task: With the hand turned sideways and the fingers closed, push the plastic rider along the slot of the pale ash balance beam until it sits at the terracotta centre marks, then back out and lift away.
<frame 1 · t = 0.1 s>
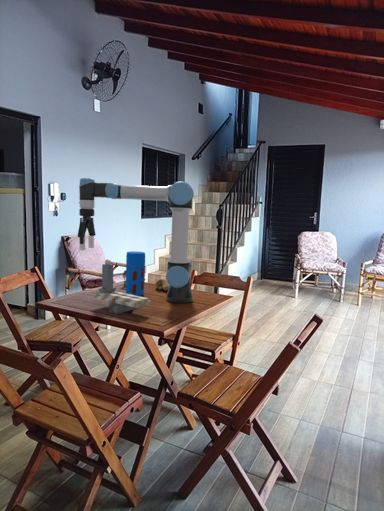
hand: (86, 249, 195), 28 cm above the table, tool pointing down, fingers open, 13 cm apart
thermos: (134, 294, 217), on the table
ginger root: (164, 289, 236), on the table
rider: (107, 276, 185), point 16 cm above the table, slide at -10.0 cm
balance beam: (121, 310, 181), on the table
watch: (128, 286, 240), on the table
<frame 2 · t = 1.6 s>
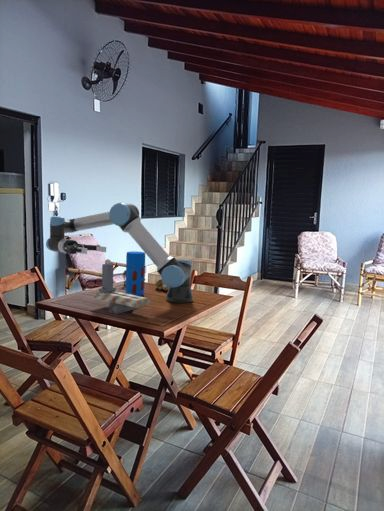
hand: (96, 250, 188), 28 cm above the table, tool horizontal, fingers open, 12 cm apart
nothing on the table moved.
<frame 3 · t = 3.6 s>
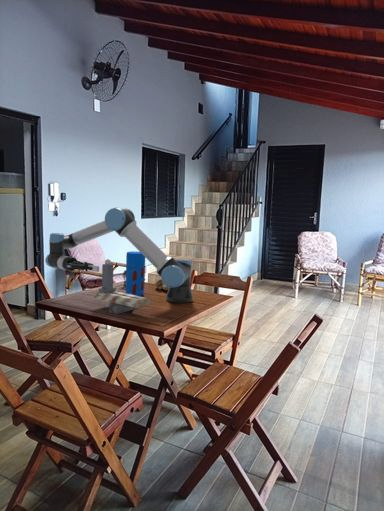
hand: (98, 269, 188), 19 cm above the table, tool horizontal, fingers closed
nothing on the table moved.
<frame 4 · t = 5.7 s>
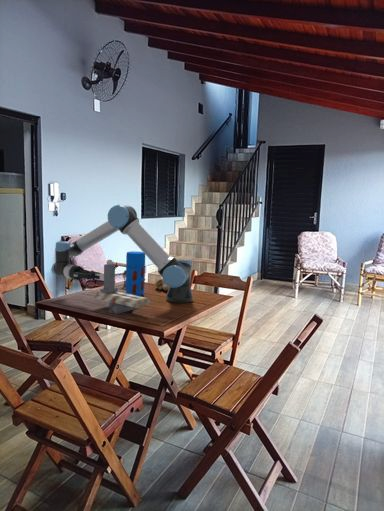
hand: (105, 278, 185), 15 cm above the table, tool horizontal, fingers closed
rider: (109, 277, 184), point 16 cm above the table, slide at -8.7 cm, touching gripper
everything else where it was.
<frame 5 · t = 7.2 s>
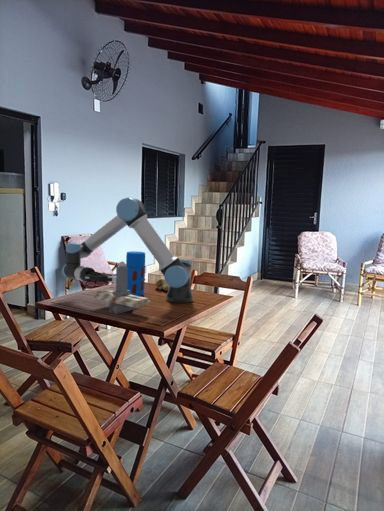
hand: (117, 280, 181), 15 cm above the table, tool horizontal, fingers closed
rider: (121, 279, 180), point 16 cm above the table, slide at -0.3 cm, touching gripper
everything else where it was.
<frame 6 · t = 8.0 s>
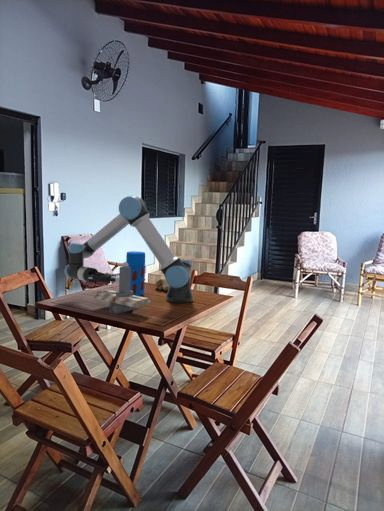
hand: (121, 280, 180), 15 cm above the table, tool horizontal, fingers closed
rider: (124, 280, 179), point 16 cm above the table, slide at 1.8 cm, touching gripper
everything else where it was.
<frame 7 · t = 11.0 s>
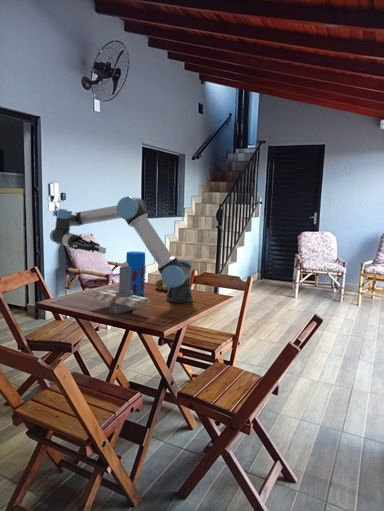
hand: (104, 251, 187), 28 cm above the table, tool horizontal, fingers closed
rider: (125, 280, 179), point 16 cm above the table, slide at 1.8 cm
everything else where it was.
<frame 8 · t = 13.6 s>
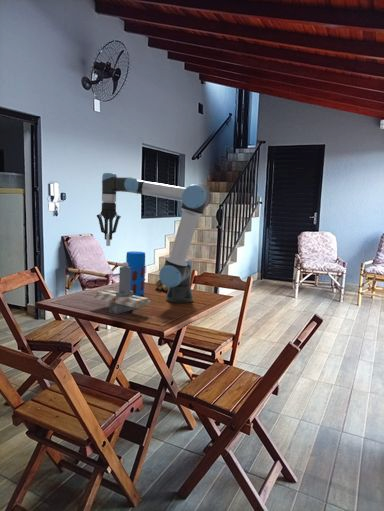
hand: (108, 245, 202), 29 cm above the table, tool pointing down, fingers closed
nothing on the table moved.
at the end: rider slide at 1.8 cm; the gripper is holding nothing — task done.
